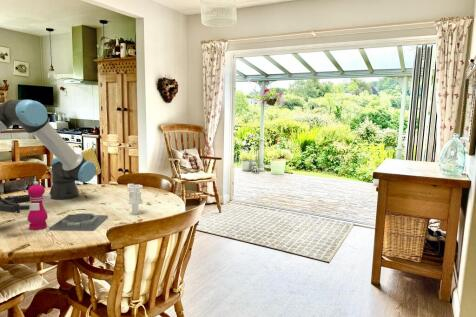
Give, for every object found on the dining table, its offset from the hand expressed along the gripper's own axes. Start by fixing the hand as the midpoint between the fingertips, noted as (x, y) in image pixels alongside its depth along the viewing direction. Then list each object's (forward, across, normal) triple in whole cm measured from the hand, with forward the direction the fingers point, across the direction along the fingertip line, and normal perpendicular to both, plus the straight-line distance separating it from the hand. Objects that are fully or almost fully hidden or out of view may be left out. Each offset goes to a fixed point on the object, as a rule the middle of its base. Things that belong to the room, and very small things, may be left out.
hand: (45, 202), depth 137 cm
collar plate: (+13, -3, -11) cm, 17 cm away
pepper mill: (-3, 0, -11) cm, 12 cm away
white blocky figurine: (+35, -16, -11) cm, 40 cm away
